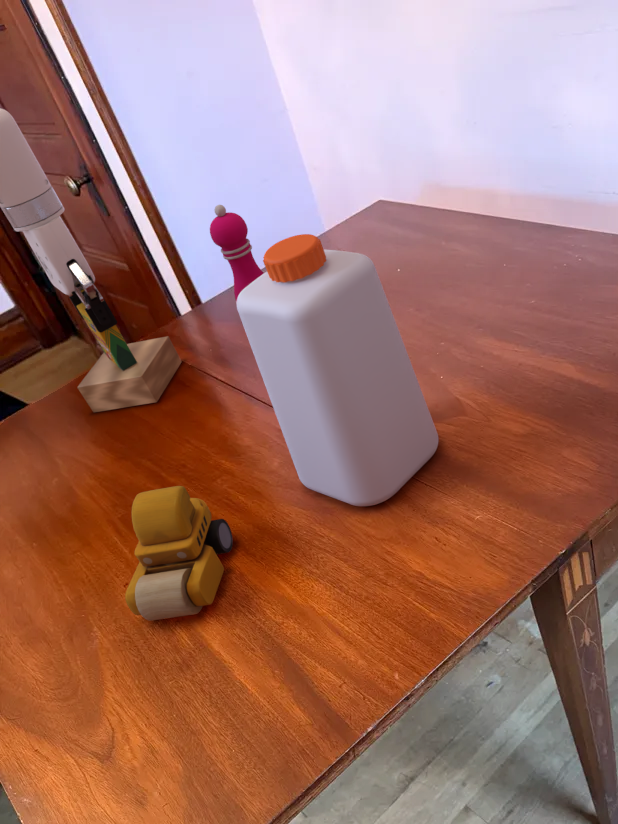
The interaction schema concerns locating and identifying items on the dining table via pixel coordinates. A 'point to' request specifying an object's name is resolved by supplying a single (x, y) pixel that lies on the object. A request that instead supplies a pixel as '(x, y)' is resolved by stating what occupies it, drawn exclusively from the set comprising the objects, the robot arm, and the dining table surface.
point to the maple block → (131, 377)
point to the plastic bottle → (337, 371)
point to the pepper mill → (235, 247)
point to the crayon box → (111, 343)
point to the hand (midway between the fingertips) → (99, 320)
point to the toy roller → (175, 554)
